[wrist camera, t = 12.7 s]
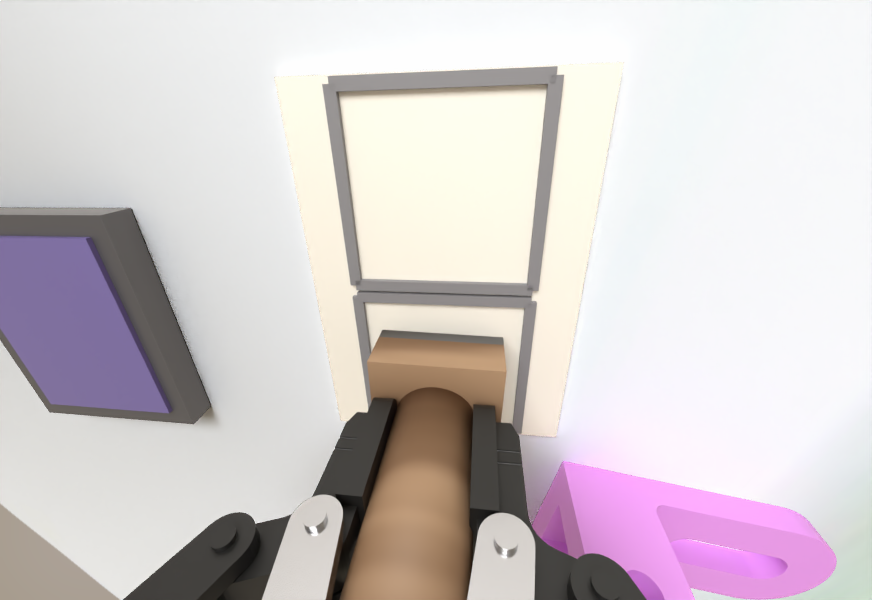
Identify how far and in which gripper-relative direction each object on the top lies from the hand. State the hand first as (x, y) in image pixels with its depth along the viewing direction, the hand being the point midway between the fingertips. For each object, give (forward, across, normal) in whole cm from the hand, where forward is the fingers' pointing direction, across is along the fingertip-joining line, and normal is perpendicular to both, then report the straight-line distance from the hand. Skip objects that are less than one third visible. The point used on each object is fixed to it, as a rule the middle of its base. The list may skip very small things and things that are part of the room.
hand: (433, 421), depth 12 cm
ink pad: (+3, +16, -2) cm, 16 cm away
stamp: (+2, 0, 0) cm, 2 cm away
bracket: (+4, -12, +9) cm, 15 cm away
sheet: (+3, 0, -4) cm, 5 cm away
